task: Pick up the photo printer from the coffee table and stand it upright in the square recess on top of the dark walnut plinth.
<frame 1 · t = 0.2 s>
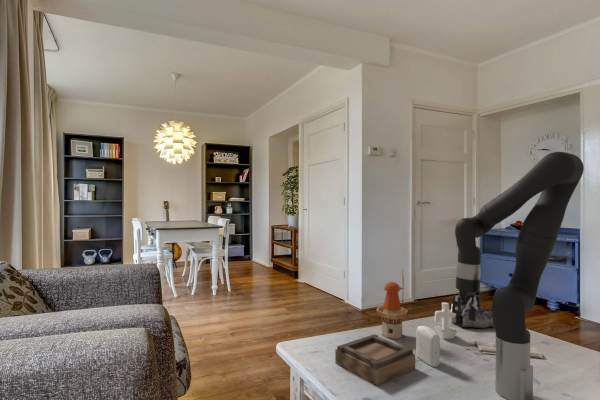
hand: (465, 322, 121), 18 cm above the table, fingers open, 8 cm apart
figurine: (445, 337, 156), on the table
newspaper: (508, 353, 142), on the table
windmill: (393, 336, 156), on the table
geode: (474, 326, 171), on the table
photo printer: (427, 361, 132), on the table
walnut plinth: (374, 365, 128), on the table
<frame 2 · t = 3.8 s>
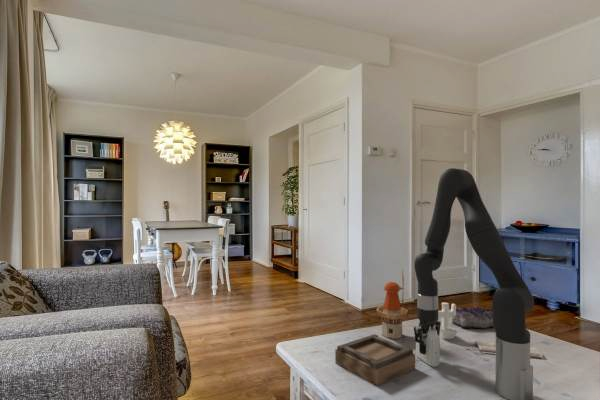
hand: (427, 351, 132), 3 cm above the table, fingers closed on photo printer, 5 cm apart
photo printer: (427, 361, 132), on the table, touching gripper
everything else where it was.
when the fingers open (10 cm above the table, at t = 9.4 s): photo printer drops 1 cm, resting on walnut plinth.
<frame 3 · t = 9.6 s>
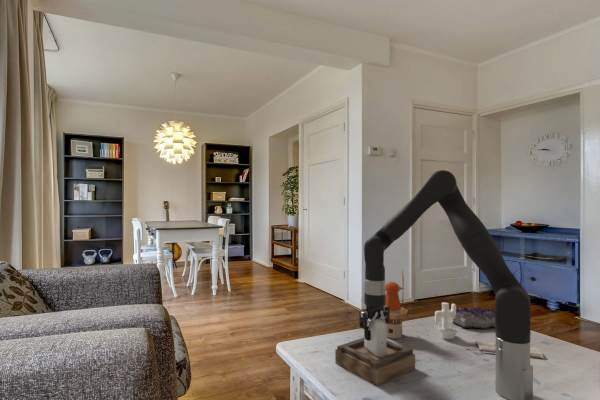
hand: (374, 337, 128), 10 cm above the table, fingers open, 6 cm apart
photo printer: (374, 352, 128), point 5 cm above the table, touching walnut plinth
everything else where it was.
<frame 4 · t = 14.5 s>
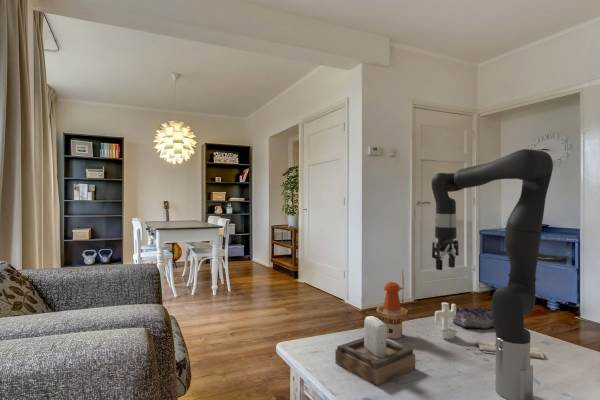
hand: (445, 268, 134), 34 cm above the table, fingers open, 8 cm apart
nothing on the table moved.
at the end: photo printer inside the target area on the walnut plinth (0.1 cm from its centre), point 4.8 cm above the walnut plinth's base; photo printer tilted 0°; the gripper is holding nothing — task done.
